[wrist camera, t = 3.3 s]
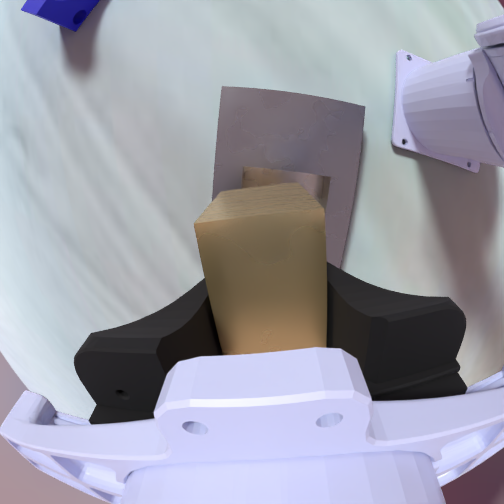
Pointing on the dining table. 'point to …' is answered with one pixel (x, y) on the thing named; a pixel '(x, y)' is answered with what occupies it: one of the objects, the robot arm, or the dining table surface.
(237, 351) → the wooden toy block
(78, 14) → the cable clip
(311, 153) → the gray rectangular plate
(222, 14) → the dining table surface
